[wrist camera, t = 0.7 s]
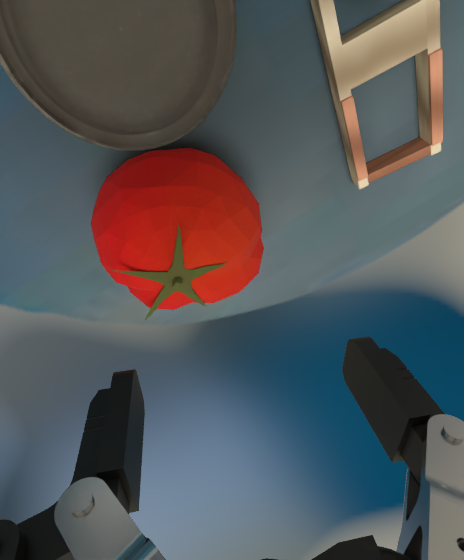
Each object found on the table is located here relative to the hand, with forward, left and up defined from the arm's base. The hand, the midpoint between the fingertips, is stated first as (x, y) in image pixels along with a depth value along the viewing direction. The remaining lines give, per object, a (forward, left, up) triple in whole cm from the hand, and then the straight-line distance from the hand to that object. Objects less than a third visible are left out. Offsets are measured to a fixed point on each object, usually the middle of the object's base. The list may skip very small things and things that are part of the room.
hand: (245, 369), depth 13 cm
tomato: (+5, -4, -26) cm, 27 cm away
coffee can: (-10, +1, -26) cm, 27 cm away
